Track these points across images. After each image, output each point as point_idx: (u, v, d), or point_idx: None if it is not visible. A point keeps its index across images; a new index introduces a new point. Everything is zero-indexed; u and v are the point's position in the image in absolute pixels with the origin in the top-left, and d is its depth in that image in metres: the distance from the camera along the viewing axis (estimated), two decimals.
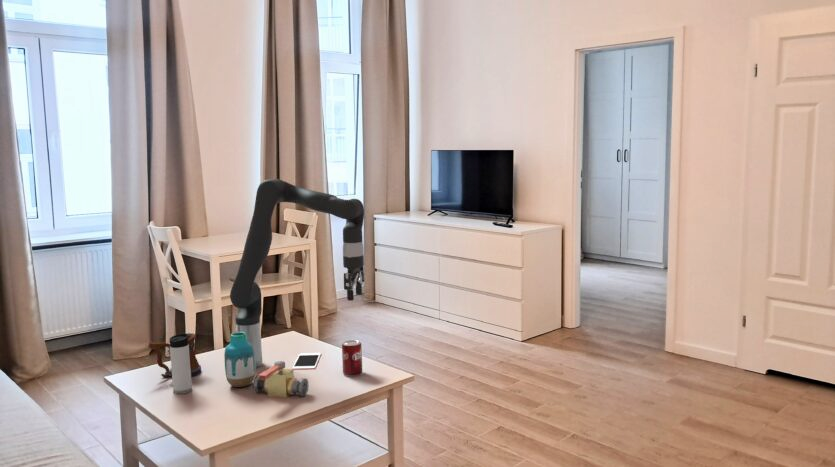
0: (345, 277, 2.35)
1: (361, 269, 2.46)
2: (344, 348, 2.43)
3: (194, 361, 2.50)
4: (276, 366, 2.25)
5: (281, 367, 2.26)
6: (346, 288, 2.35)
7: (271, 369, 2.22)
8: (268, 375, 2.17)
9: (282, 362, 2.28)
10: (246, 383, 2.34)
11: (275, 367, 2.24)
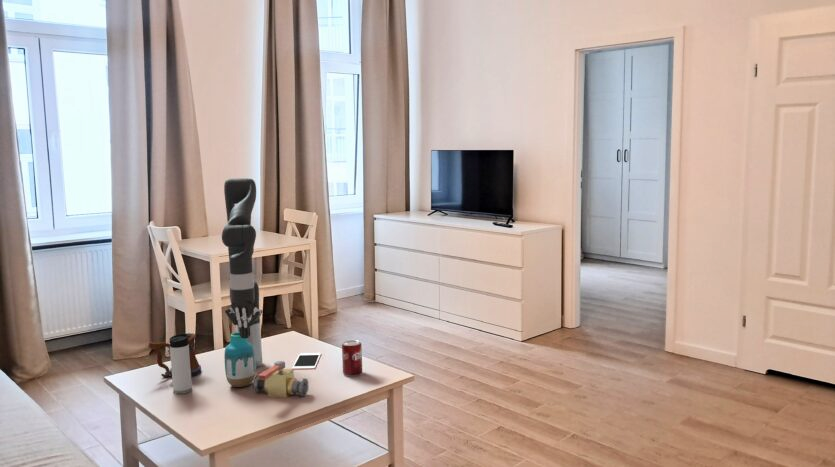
0: (258, 316, 2.14)
1: None
2: (344, 348, 2.43)
3: (194, 361, 2.50)
4: (276, 366, 2.25)
5: (281, 367, 2.26)
6: (252, 323, 2.15)
7: (271, 369, 2.22)
8: (268, 375, 2.17)
9: (282, 362, 2.28)
10: (246, 383, 2.34)
11: (275, 367, 2.24)
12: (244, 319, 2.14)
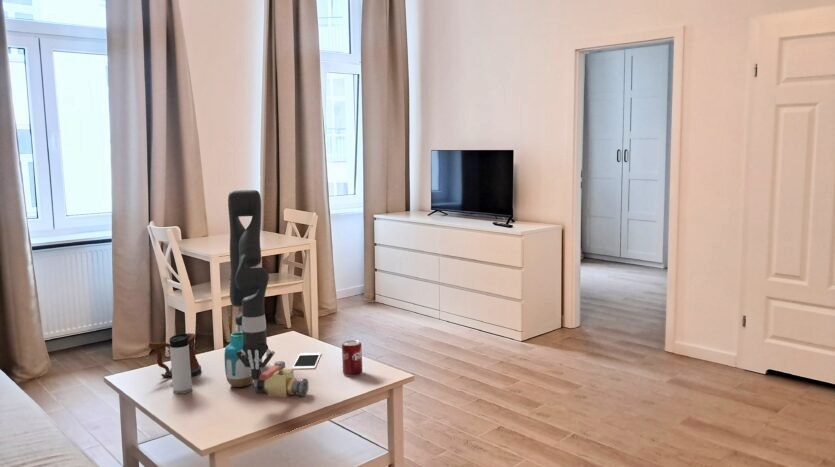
0: (270, 357, 2.16)
1: None
2: (344, 348, 2.43)
3: (194, 361, 2.50)
4: (276, 366, 2.25)
5: (281, 367, 2.26)
6: (264, 365, 2.17)
7: (272, 369, 2.22)
8: (269, 375, 2.17)
9: (282, 362, 2.28)
10: (246, 383, 2.34)
11: (275, 367, 2.24)
12: (256, 361, 2.15)
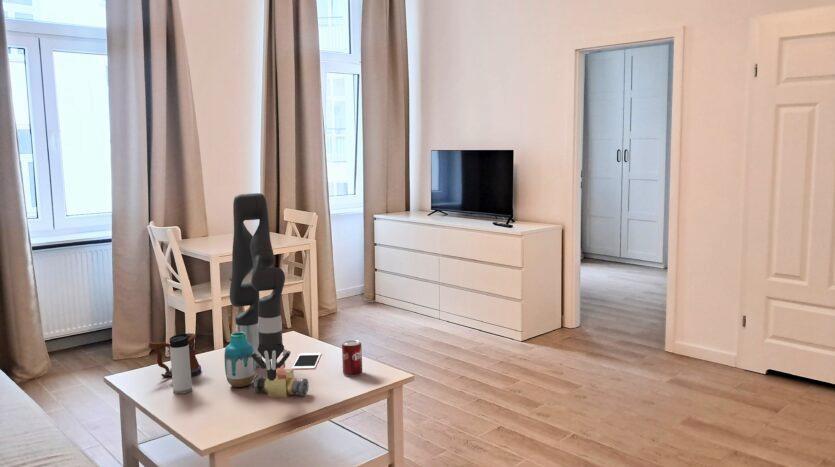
0: None
1: None
2: (344, 348, 2.43)
3: (194, 361, 2.50)
4: None
5: (283, 366, 2.27)
6: None
7: (280, 369, 2.22)
8: (285, 374, 2.18)
9: None
10: (246, 383, 2.34)
11: (281, 367, 2.24)
12: (273, 361, 2.14)
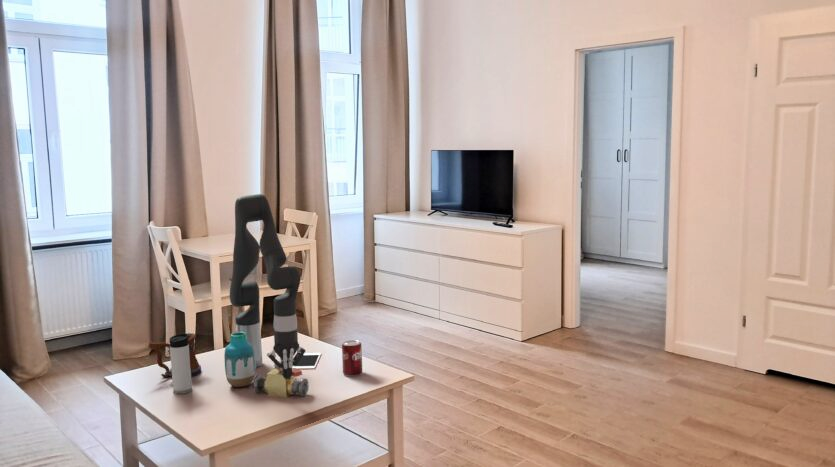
0: None
1: None
2: (344, 348, 2.43)
3: (194, 361, 2.50)
4: None
5: None
6: None
7: None
8: None
9: (280, 362, 2.28)
10: (246, 383, 2.34)
11: None
12: (291, 359, 2.16)
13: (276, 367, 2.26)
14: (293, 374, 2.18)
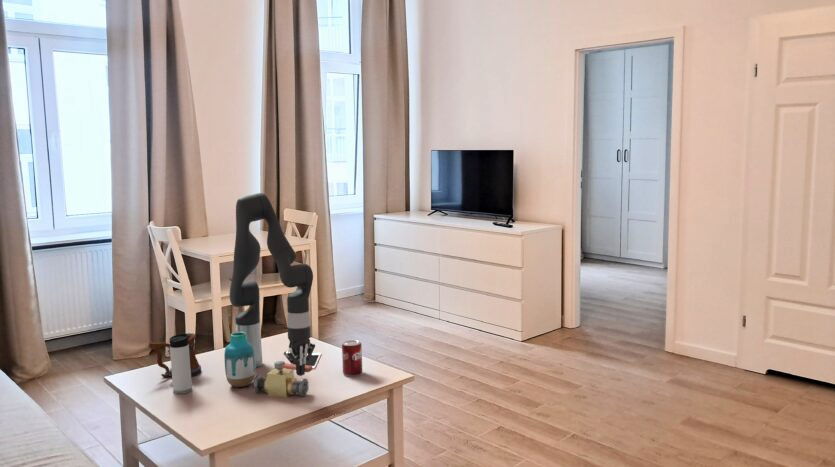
0: None
1: None
2: (344, 348, 2.43)
3: (194, 361, 2.50)
4: (286, 364, 2.27)
5: None
6: None
7: (294, 365, 2.25)
8: None
9: (279, 362, 2.28)
10: (246, 383, 2.34)
11: (289, 364, 2.26)
12: (305, 355, 2.20)
13: (278, 367, 2.26)
14: (305, 370, 2.22)
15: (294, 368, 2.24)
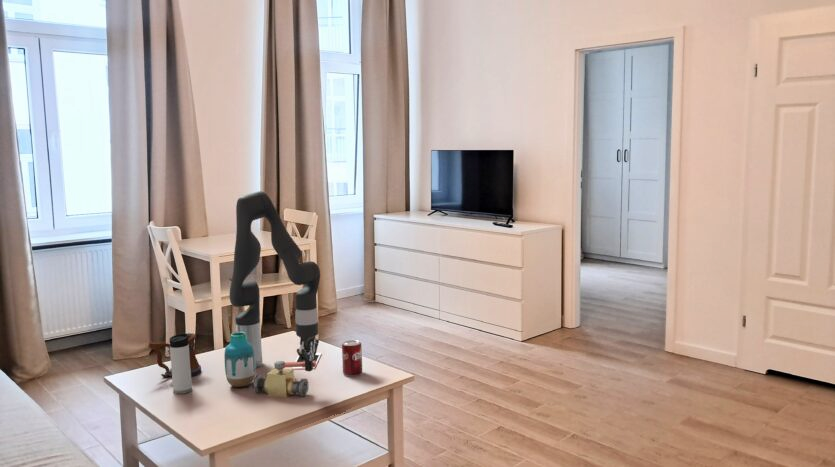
0: None
1: None
2: (344, 348, 2.43)
3: (194, 361, 2.50)
4: (287, 363, 2.28)
5: None
6: None
7: (296, 363, 2.28)
8: None
9: (278, 362, 2.28)
10: (246, 383, 2.34)
11: (290, 363, 2.28)
12: (314, 350, 2.24)
13: (280, 367, 2.26)
14: None
15: (298, 365, 2.27)
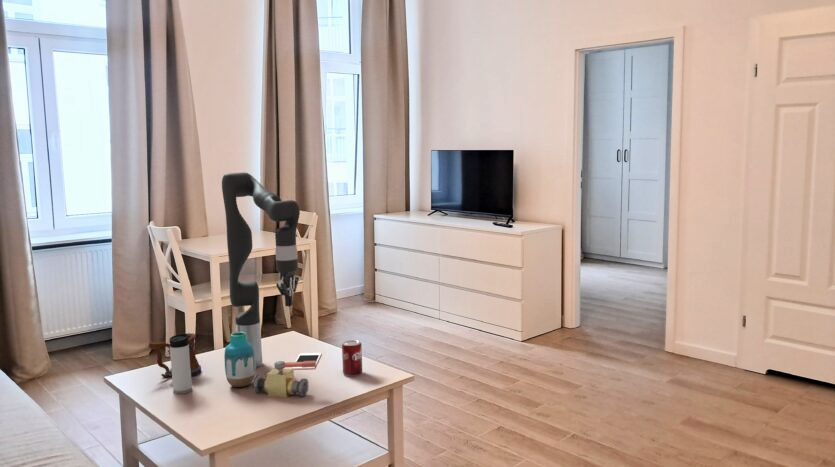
0: None
1: None
2: (344, 348, 2.43)
3: (194, 361, 2.50)
4: (287, 363, 2.28)
5: None
6: None
7: (296, 363, 2.28)
8: None
9: (278, 362, 2.28)
10: (246, 383, 2.34)
11: (290, 363, 2.28)
12: (293, 286, 2.33)
13: (280, 367, 2.26)
14: (312, 365, 2.27)
15: (298, 365, 2.27)
